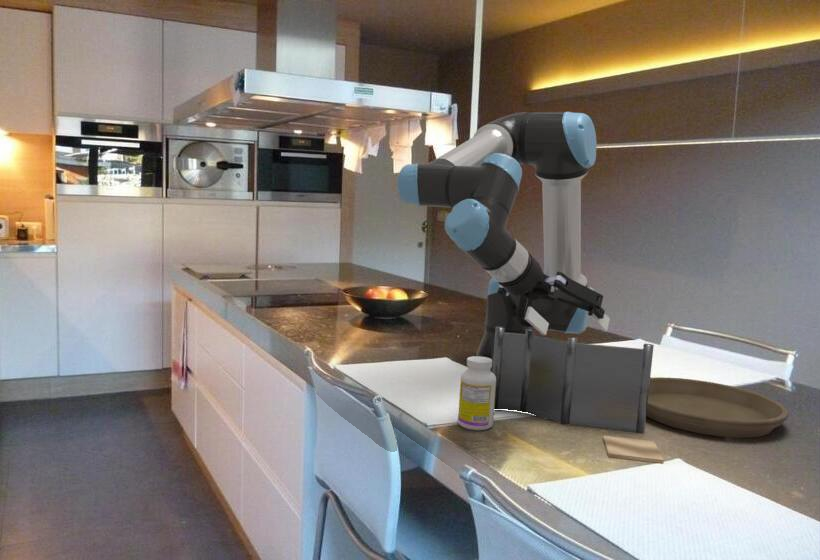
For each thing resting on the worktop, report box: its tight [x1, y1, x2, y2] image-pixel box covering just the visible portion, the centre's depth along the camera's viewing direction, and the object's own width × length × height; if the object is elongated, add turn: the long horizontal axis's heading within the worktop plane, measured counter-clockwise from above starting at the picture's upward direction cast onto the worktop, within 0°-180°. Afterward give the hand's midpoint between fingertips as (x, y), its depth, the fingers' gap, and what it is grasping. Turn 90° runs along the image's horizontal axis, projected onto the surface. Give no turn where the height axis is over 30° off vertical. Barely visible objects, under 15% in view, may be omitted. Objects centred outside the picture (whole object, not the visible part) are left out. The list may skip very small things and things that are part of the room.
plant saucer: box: [646, 376, 789, 439], centre depth 143 cm, size 31×31×5 cm
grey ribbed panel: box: [491, 327, 654, 434], centre depth 134 cm, size 6×30×17 cm, turn 80°
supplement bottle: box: [457, 355, 496, 431], centre depth 128 cm, size 7×7×13 cm
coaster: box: [602, 435, 665, 464], centre depth 120 cm, size 9×9×1 cm
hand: (575, 327), depth 131 cm, fingers open, 13 cm apart
